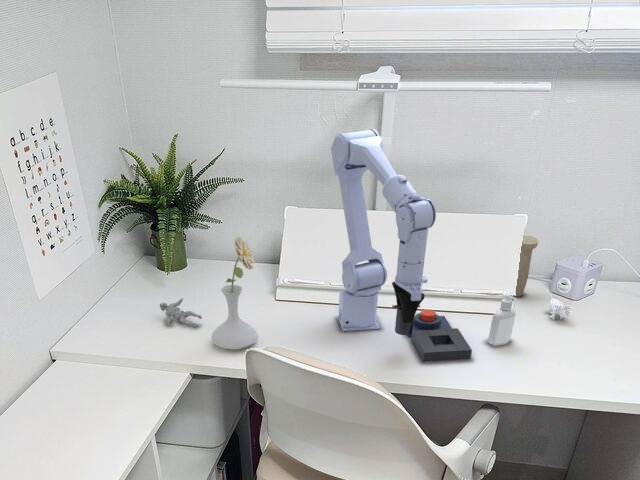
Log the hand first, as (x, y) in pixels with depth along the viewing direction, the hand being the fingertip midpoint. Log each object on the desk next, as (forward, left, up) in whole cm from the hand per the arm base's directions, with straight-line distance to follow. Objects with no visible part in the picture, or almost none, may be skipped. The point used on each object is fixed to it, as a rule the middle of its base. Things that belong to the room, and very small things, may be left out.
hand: (405, 317), depth 155 cm
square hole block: (+9, 0, -9) cm, 13 cm away
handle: (+38, +28, -9) cm, 48 cm away
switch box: (+9, +11, -9) cm, 17 cm away
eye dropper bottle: (+24, +2, -9) cm, 26 cm away
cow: (+43, +15, -9) cm, 47 cm away
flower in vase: (-39, +10, -9) cm, 41 cm away
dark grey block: (0, 0, -3) cm, 3 cm away
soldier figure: (-53, +23, -9) cm, 58 cm away
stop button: (+9, +11, -6) cm, 15 cm away
